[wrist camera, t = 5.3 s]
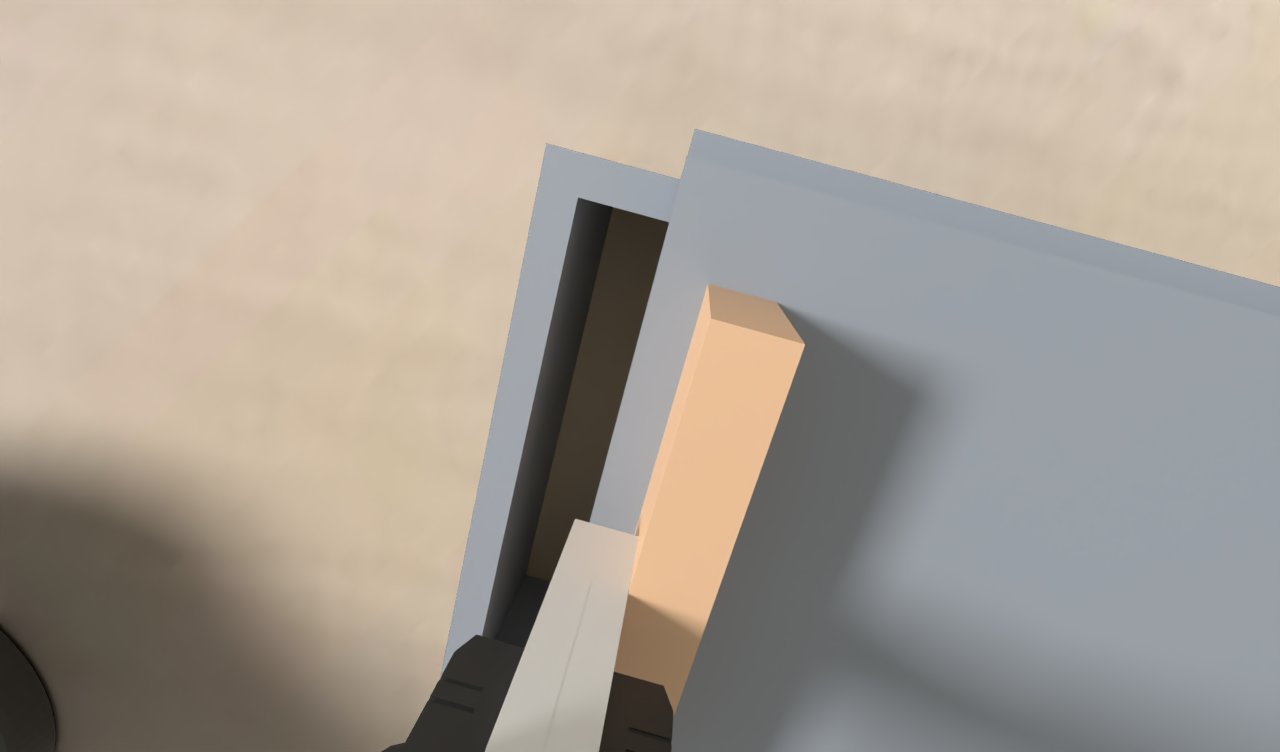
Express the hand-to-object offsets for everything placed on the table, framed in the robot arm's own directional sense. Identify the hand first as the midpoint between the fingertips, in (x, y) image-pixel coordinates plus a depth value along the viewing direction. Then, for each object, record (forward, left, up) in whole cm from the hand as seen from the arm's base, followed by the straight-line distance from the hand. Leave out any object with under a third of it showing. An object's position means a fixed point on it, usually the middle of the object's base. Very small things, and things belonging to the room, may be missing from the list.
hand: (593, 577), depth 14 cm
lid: (+9, 0, -4) cm, 10 cm away
